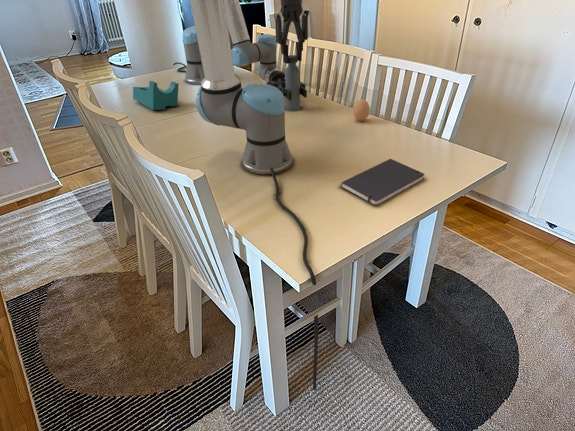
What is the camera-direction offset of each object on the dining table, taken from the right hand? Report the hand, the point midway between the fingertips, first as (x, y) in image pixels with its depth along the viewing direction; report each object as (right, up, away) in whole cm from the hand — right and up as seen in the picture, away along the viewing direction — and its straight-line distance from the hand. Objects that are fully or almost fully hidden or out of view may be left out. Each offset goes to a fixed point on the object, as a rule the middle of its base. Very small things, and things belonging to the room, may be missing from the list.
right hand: (292, 61), depth 153 cm
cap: (0, +1, -1) cm, 2 cm away
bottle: (0, -15, +11) cm, 18 cm away
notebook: (+25, -49, -38) cm, 67 cm away
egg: (+26, -23, -2) cm, 34 cm away
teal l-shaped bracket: (-57, -11, +18) cm, 61 cm away
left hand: (+2, -12, +3) cm, 13 cm away
